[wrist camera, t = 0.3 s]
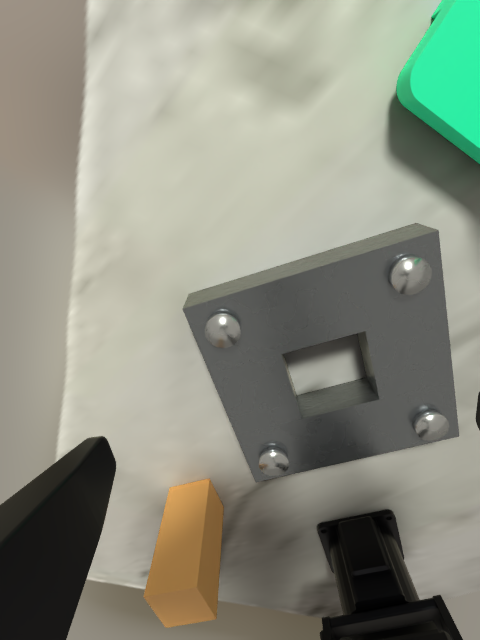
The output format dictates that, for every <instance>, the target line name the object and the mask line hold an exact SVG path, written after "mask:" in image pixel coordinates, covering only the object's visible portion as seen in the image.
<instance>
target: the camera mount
mask: <svg viewBox="0 0 480 640" xmlns="http://www.w3.org/2000/svg"><path fill="white" fill-rule="evenodd" d="M432 18H433V19H434V21H433V23H432V24H431V26H430V27H429V29H428V30H427V32H426V34H425V35H424V37H423V38H422V40H421V41H420V43H419V44H418V46H417V47H416V49H415V51H414V52H413V54H412V55H411V57H410V58H409V60H408V61H407V63H406V64H405V66H404V68H403V69H402V71H401V72H400V75H399V77H398V80H397V86H396V91H397V96H398V99H399V101H400V103H401V104H402V105H403V106H404V107H405V108H407V109H408V110H409V111H411V112H412V113H413V114H415V115H416V116H417V117H419V118H420V119H421V120H423V121H424V122H425V123H426V124H428V125H429V126H430V127H432V128H433V129H434V130H436V131H437V132H438V133H440V134H441V135H442V136H444V137H445V138H446V139H447V140H449V141H450V142H451V143H453V144H454V145H455V146H457V147H458V148H459V149H461V150H462V151H463V152H465V153H466V154H467V155H468V156H470V157H471V158H472V159H474V160H475V161H476V162H478V163H479V164H480V0H442V1H441V3H440V4H439V6H438V8H437V9H436V11H435V12H434V14H433V15H432Z"/></svg>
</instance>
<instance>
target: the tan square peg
mask: <svg viewBox="0 0 480 640" xmlns="http://www.w3.org/2000/svg"><path fill="white" fill-rule="evenodd" d="M223 511H224V507H223V505H222V503H221V501H220V499H219V497H218V495H217V493H216V491H215V489H214V487H213V485H212V482H211V480H210V478H209V479H205V480H201V481H196V482H192V483H188V484H183V485H179V486H175V487H170V489H169V493H168V497H167V501H166V505H165V510H164V514H163V518H162V522H161V526H160V530H159V535H158V539H157V543H156V547H155V551H154V556H153V560H152V564H151V568H150V572H149V577H148V581H147V585H146V589H145V593H144V598H145V600H146V601H147V602H148V604H149V605H150V607H151V608H152V609H153V611H154V612H155V613H156V615H157V616H158V618H159V619H160V620H161V622H162V623H163V625H164V626H165V627H166V628H168V627H174V626H179V625H186V624H191V623H197V622H203V621H209V620H215V619H216V618H217V602H218V587H219V572H220V557H221V542H222V526H223Z"/></svg>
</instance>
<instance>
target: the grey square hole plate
mask: <svg viewBox="0 0 480 640" xmlns="http://www.w3.org/2000/svg"><path fill="white" fill-rule="evenodd" d="M183 311H184V313H185V316H186V318H187V320H188V323H189V325H190V327H191V330H192V332H193V335H194V337H195V339H196V342H197V344H198V346H199V349H200V351H201V354H202V356H203V358H204V361H205V363H206V365H207V368H208V370H209V372H210V375H211V377H212V380H213V382H214V384H215V387H216V389H217V391H218V394H219V396H220V398H221V401H222V403H223V406H224V408H225V410H226V413H227V415H228V417H229V420H230V422H231V424H232V427H233V429H234V432H235V434H236V436H237V439H238V441H239V443H240V446H241V448H242V451H243V453H244V455H245V458H246V460H247V462H248V465H249V467H250V469H251V472H252V474H253V477H254V479H255V481H256V482H259V481H264V480H268V479H273V478H277V477H281V476H286V475H290V474H295V473H299V472H304V471H308V470H312V469H317V468H321V467H326V466H330V465H335V464H339V463H343V462H348V461H352V460H357V459H361V458H366V457H370V456H374V455H379V454H383V453H388V452H392V451H397V450H401V449H405V448H410V447H414V446H419V445H423V444H428V443H432V442H436V441H441V440H445V439H450V438H454V437H459V429H458V419H457V409H456V399H455V389H454V380H453V370H452V360H451V350H450V340H449V330H448V320H447V310H446V300H445V290H444V281H443V271H442V261H441V251H440V241H439V231H438V230H436V229H433V228H430V227H427V226H424V225H421V224H418V223H415V224H412V225H409V226H405V227H402V228H399V229H396V230H393V231H389V232H386V233H383V234H380V235H377V236H373V237H370V238H367V239H364V240H361V241H357V242H354V243H351V244H348V245H345V246H341V247H338V248H335V249H332V250H329V251H325V252H322V253H319V254H316V255H313V256H309V257H306V258H303V259H300V260H297V261H293V262H290V263H287V264H284V265H281V266H277V267H274V268H271V269H268V270H265V271H261V272H258V273H255V274H252V275H249V276H245V277H242V278H239V279H236V280H233V281H229V282H226V283H223V284H220V285H217V286H213V287H210V288H207V289H204V290H201V291H197V292H194V293H191V294H189V296H188V298H187V300H186V302H185V305H184V307H183ZM353 334H358V339H359V344H360V348H361V353H362V358H363V362H364V367H365V371H366V376H367V378H363V379H360V380H356V381H352V382H348V383H344V384H340V385H336V386H332V387H328V388H325V389H321V390H317V391H313V392H309V393H305V394H301V395H296V392H295V389H294V386H293V382H292V379H291V376H290V373H289V370H288V367H287V363H286V360H285V357H284V353H288V352H291V351H295V350H299V349H302V348H306V347H309V346H313V345H317V344H320V343H324V342H328V341H331V340H335V339H338V338H342V337H346V336H349V335H353Z"/></svg>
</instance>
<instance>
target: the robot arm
mask: <svg viewBox="0 0 480 640" xmlns="http://www.w3.org/2000/svg"><path fill="white" fill-rule="evenodd" d="M476 422H477V426H478V428H479V430H480V392H479V395H478V402H477V411H476ZM115 472H116V461H115V458H114V455H113V453H112V450H111V448H110V445H109V443H108V441H107V439H106V438H105V437H103V436H98V437H91V438H87V439H86V440H84V441H83V442H82V443H81V444H79V445H78V446H77V447H75V448H74V449H73V450H71V451H70V452H69V453H67V454H66V455H65V456H64V457H62V458H61V459H60V460H58V461H57V462H56V463H54V464H53V465H52V466H51V467H49V468H48V469H47V470H45V471H44V472H43V473H42V474H40V475H39V476H38V477H36V478H35V479H34V480H32V481H31V482H30V483H28V484H27V485H26V486H25V487H23V488H22V489H21V490H20V491H18V492H17V493H15V494H14V495H13V496H12V497H10V498H9V499H8V500H6V501H5V502H4V503H2V504H1V505H0V640H66V638H67V635H68V632H69V629H70V626H71V623H72V620H73V617H74V614H75V611H76V608H77V605H78V602H79V599H80V596H81V593H82V590H83V587H84V584H85V581H86V578H87V575H88V572H89V569H90V566H91V563H92V560H93V557H94V554H95V551H96V548H97V545H98V542H99V539H100V535H101V532H102V528H103V524H104V520H105V516H106V512H107V507H108V503H109V498H110V494H111V490H112V485H113V481H114V476H115ZM317 529H318V534H319V536H320V539H321V542H322V545H323V548H324V550H325V553H326V556H327V559H328V562H329V565H330V567H331V570H332V572H333V573H334V574H335V578H336V583H337V587H338V592H339V597H340V601H341V606H342V610H343V615H341V616H336V617H331V618H330V617H329V616H328V617H323V618H322V624H323V630H322V631H321V632H320V638H321V640H463V639H462V637H461V635H460V633H459V631H458V629H457V627H456V625H455V623H454V621H453V619H452V617H451V615H450V613H449V611H448V609H447V607H446V605H445V603H444V601H443V599H442V597H441V595H436V596H433V598H430V599H424V600H419V597H418V595H417V592H416V590H415V587H414V585H413V582H412V580H411V577H410V575H409V572H408V570H407V567H406V565H405V562H404V555H403V550H402V546H401V541H400V537H399V532H398V527H397V523H396V518H395V515H394V513H393V511H391V510H384V511H379V512H374V513H369V514H364V515H359V516H354V517H349V518H344V519H339V520H335V521H330V522H325V523H321V524H319V525H318V526H317Z"/></svg>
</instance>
